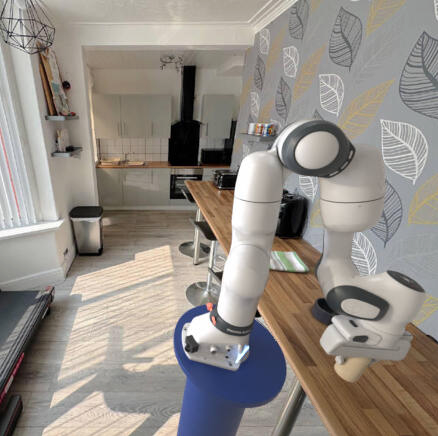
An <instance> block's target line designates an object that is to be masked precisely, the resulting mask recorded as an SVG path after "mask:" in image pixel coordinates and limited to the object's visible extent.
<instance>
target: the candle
mask: <svg viewBox="0 0 438 436" xmlns="http://www.w3.org/2000/svg"><path fill="white" fill-rule="evenodd" d="M344 359H345V360H346V361H347V362H346V364H345V365H338V363H337V362H336V361H335V364H334V366H333V368H334V371H335V373H336V374H337V375H338V376H339V377H340V378H341V379H342V380H344V381H346V382H348V383H351V384H355V383H357V382H358V381H359V380H360V379H361V377H362V375H363V374H364V373H365V371H366V370H367V369H368V368H369V367H368V365H369V364H370V363H371V359H370V358H357V357H346V358H344Z"/></svg>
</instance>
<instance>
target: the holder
mask: <svg viewBox="0 0 438 436" xmlns="http://www.w3.org/2000/svg"><path fill="white" fill-rule="evenodd" d="M311 313H312V315H313V317H314V318H315V319H316V320H318V321H319V322H321V323H322V324H324V325H327V326H329V325H331V324H333V322H332V318H333V317H334V316H337V315H341V314H339V313H337V312H335V311H333V310H332V309H331V308H330V307H329V305H328V304H327V302H326V299H325V297H317V298H316V300H315V301H314V303H313V306H312V308H311Z"/></svg>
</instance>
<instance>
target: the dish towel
mask: <svg viewBox="0 0 438 436" xmlns="http://www.w3.org/2000/svg"><path fill="white" fill-rule="evenodd" d="M270 270H272V271H278V272H279V271H280V272H289V273H304V274H305V273H309V272H310V269H309V267H308V266H307V264H306V263H305V262H304V261H303V260H302V259H301V258H300V257H299V256H298V254H297V252H296V251H281V250H271V256H270V267H269V271H270Z"/></svg>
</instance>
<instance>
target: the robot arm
mask: <svg viewBox="0 0 438 436" xmlns="http://www.w3.org/2000/svg"><path fill="white" fill-rule="evenodd" d="M293 173H294V174H297V175H299V176H303V177H311V178H312V177H315V178H317V179H318V183H319V194H318V195H319V199H318V200H319V210H320V211H319V212H320V217H321V221H322V225H323V237H322V238H323V239H322V241H323V242H322V251H321V255H320V257H319V259H318V260H317V262H316V264H315V266H314V269H313V271H314V272H313V273H314V276H315V278H316V280H317V282H318V283H319V286H320V289H321V292H322V295H323V298H325V299H326V302H327V304H328V305H329V307H330V308H331V309H332V310H333V311H335V312H337V313H339V314H341V315H337V316H334V317H333V318H332V322H333V324H331V325H327V327H326V328H325V330H324V332H323V333H322V335H321V337H320V339H319V345H320V346H321V348H322V349H323V351H325V353H326V354H327V355H328V356H334V357H335V358H334V360H335V363H336V362H337V363H338V365H345V364H346V362H347V361H346V360H345V359H344V358H346V357H357V358H370V359H371V363H370V364H369V365H368V367H367V368H371V366H372V365H375V364H376V363H378V362H380V361H392V362H400V361H402V360H404V359H405V358H406V356H407V355H408V353H409V351H410V349H411V346H412V344H411V342H412V340H413V339H414V336H413V334H412V333H411V332H410V331H408V330H406V327H407V326H408V324H411V323H412V322H414V320H415V319H416V318H417V316H418V314H419V313H420V311H421V310H422V308H423V306H424V304H425V301H426V298H427V292H426V290H425V289H424V287H423V286H422V285H421V284H420V283H419V282H418V281H417V280H415V279H413V278H411V277H410V276H409V275H406V274H404V273H402V272H399V271H396V270H391V269H387V270H384V271H383V272H380V273H376V274H370V275H369V274H368V275H361V273H360V271H359V269H358V267H357V266H356V264H355V261H354V260H353V259H352V258H353V257H352V253H353V246H354V245H353V244H354V235H355V233H362V232H366V231H368V230H371V229H372V228H374V227H375V226H376V225H378V224H379V222H380V220H381V219H382V218H381V217H382V216H383V211H384V207H385V201H386V171H385V164H384V158H383V155H382V152H381V150H380V149H379V148H378V147H376V146H375V145H372V144H368V143H359V142H358V143H353V142H351V140H350V139H349V138H348V136H347V135H346V133H345V132H344V130H342V128H341V127H339V126H338V125H337V124H335V123H334V122H332V121H329V120H324V119H319V118H315V117H314V118H310V117H309V118H303V119H299V120H296V121H292V122H291V123H289V124H287V125H286V126H285V127H284V128H282V129H281V130H280V131H279V132H278V134H277V136H276V137H275V138H274V140H273V141H272V142H271V144H269V146H268V148H267V150H259V151H254V152H251V153H250V154H247V155H246V156H245V157H244V158H243V159H242V161H241V163H240V166H239V169H238V172H237V177H236V181H235V185H234V186H235V187H234V192H233V193H234V194H233V203H232V213H231V245H230V249H229V251H228V256H227V258H226V261H225V264H224V267H223V272H222V278H221V285H220V286H221V288H220V293H219V297H218V302H217V304H216V306H215V307H214V308H213V304H214V303H212V302H207V303H206V305H207V309H208V310H209V311H210V312H208V313H206V314H203V315H200V316H197V317H195V318H194V319H193V320H192V322H191V323H186V324H185V325H184V327H183V330H182V344H183V348H184V351H185V353H186V355H187V357H188V358H189V359H190V360H193V361H197V362H201V363H205V364H209V365H213V366H217V367H221V368H224V369H228V370H232V371H237V370H238V369H239V367H240V364H241V363H242V362H244V361H245V360H246V359H247V358H248V356H249V336H250V333H251V331H252V329H253V325H254V321H255V320H256V318H255V317H256V313H257V309H258V306H259V304H260V301H261V299H262V297H263V294H264V293H265V290H266V287H267V285H268V282H269V279H270V269H269V267H270V256H271V251H272V250H273V249H272V248H273V244H274V240H275V236H276V231H277V227H278V223H279V222H278V221H279V216H280V210H281V205H282V199H283V193H284V186H285V185H286V182H287V180H288V179H289V177H290V176H291V175H292V174H293ZM230 365H231V366H230Z"/></svg>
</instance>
